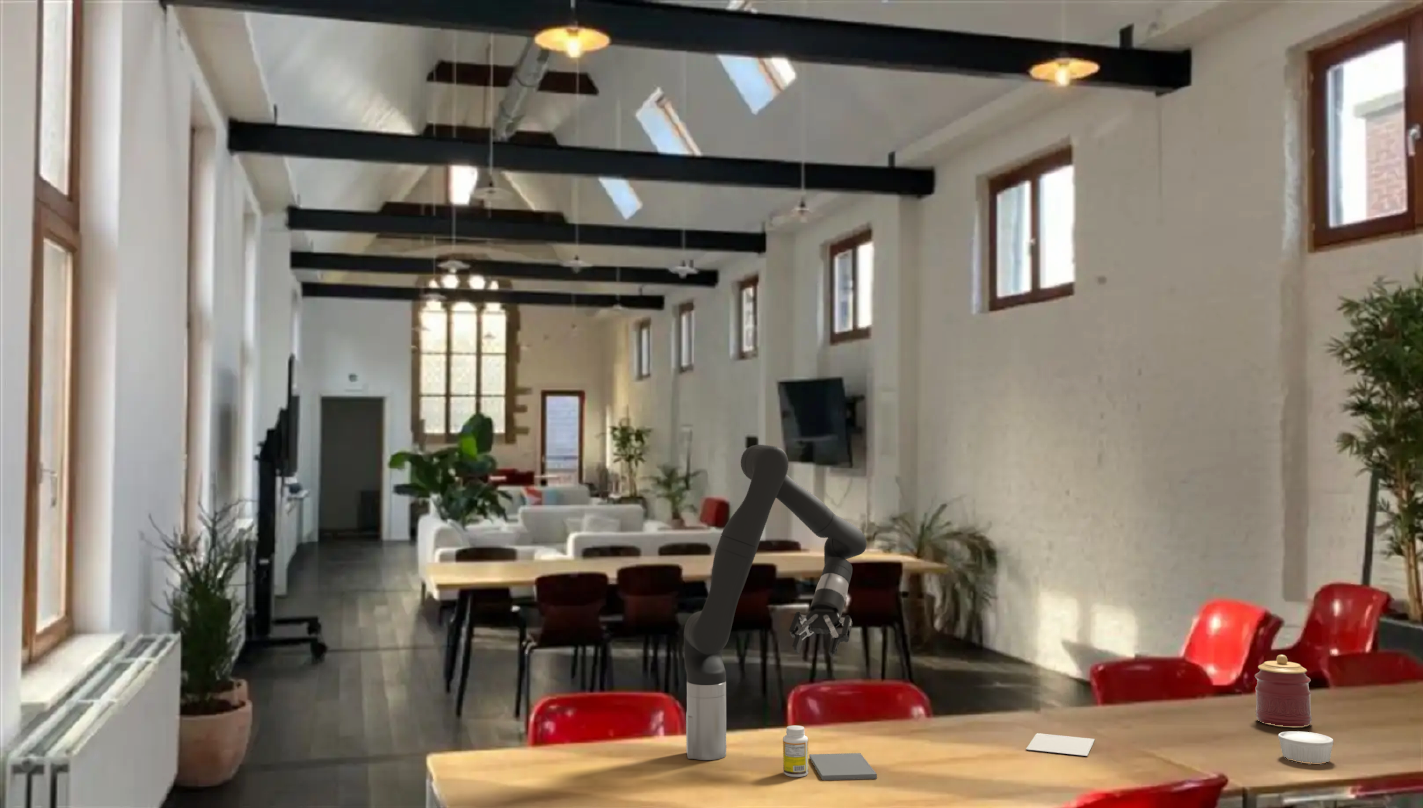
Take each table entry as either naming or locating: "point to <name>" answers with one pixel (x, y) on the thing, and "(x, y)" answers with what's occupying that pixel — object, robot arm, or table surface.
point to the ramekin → (1306, 746)
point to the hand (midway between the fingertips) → (813, 652)
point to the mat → (842, 766)
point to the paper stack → (1061, 744)
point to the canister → (1283, 693)
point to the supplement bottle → (795, 752)
